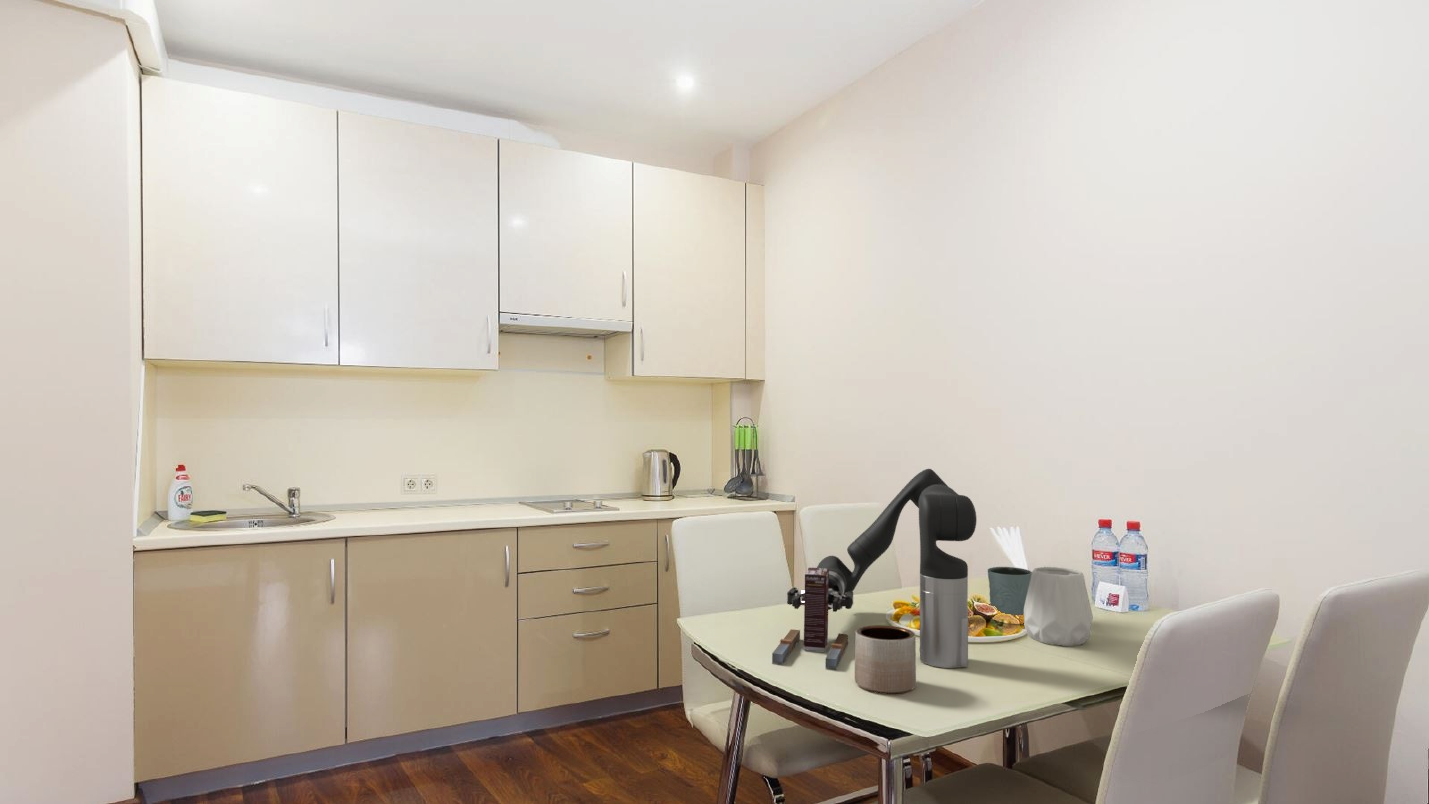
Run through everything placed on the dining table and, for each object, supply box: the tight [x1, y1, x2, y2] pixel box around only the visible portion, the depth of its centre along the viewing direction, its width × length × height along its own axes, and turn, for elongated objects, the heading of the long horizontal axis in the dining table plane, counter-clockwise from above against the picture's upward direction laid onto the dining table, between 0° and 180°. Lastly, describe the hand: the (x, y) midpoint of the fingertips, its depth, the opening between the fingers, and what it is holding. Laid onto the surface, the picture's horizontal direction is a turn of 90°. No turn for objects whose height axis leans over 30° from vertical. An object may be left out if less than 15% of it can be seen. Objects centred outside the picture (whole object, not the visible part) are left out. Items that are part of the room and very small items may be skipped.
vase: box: [1023, 566, 1094, 647], centre depth 176 cm, size 14×14×15 cm
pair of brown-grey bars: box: [771, 629, 849, 671], centre depth 164 cm, size 12×19×3 cm, turn 163°
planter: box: [854, 624, 917, 695], centre depth 145 cm, size 11×11×10 cm
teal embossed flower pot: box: [987, 566, 1032, 615], centre depth 193 cm, size 10×10×12 cm
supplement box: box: [803, 567, 829, 653], centre depth 170 cm, size 9×5×16 cm, turn 168°
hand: (814, 605), depth 168 cm, fingers open, 7 cm apart
